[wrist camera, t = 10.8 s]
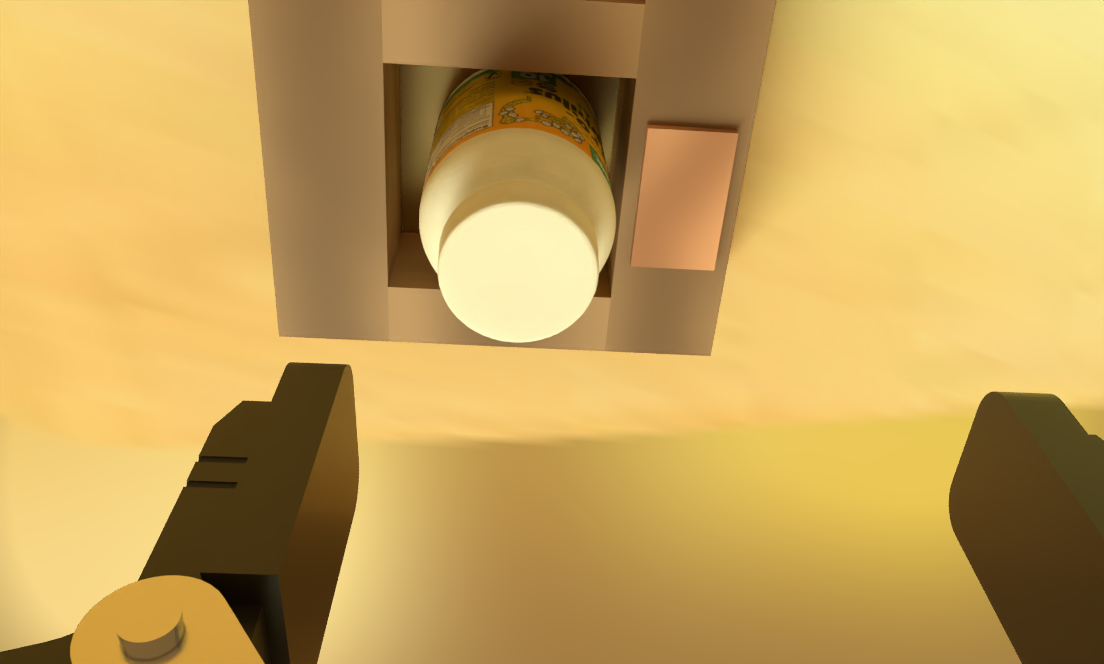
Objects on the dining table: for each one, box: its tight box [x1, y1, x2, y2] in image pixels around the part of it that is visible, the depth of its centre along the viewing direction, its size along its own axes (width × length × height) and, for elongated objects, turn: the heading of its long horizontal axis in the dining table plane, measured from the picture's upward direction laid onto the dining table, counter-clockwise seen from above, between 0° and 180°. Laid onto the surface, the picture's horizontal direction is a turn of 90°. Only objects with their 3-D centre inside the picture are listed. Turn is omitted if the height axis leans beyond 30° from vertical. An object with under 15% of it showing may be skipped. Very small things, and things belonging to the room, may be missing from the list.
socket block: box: [248, 0, 776, 356], centre depth 27 cm, size 14×20×4 cm
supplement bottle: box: [419, 69, 616, 342], centre depth 27 cm, size 5×5×10 cm
